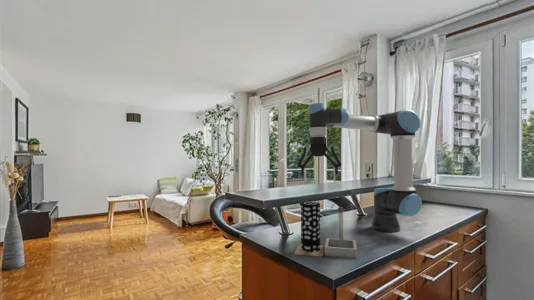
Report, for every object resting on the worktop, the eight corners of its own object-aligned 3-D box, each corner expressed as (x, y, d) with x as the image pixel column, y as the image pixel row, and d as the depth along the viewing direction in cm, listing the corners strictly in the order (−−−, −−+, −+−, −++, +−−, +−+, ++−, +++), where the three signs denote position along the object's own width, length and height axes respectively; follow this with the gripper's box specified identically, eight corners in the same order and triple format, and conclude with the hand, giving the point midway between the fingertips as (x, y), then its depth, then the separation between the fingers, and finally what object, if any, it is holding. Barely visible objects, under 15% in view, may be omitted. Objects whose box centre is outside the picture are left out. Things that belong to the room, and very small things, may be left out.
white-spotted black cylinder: (323, 251, 119) (323, 204, 119) (305, 252, 117) (305, 205, 117) (315, 244, 127) (315, 201, 127) (298, 246, 125) (298, 202, 125)
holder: (355, 245, 128) (354, 206, 129) (357, 258, 112) (356, 214, 113) (327, 243, 132) (326, 205, 132) (324, 255, 116) (324, 212, 116)
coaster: (325, 247, 126) (325, 245, 126) (323, 256, 115) (323, 254, 115) (299, 245, 129) (298, 243, 129) (294, 254, 118) (294, 252, 118)
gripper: (345, 135, 130) (347, 180, 130) (292, 138, 136) (294, 181, 136) (345, 134, 123) (347, 182, 123) (290, 137, 129) (292, 183, 129)
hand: (319, 181), depth 130 cm, fingers open, 13 cm apart
